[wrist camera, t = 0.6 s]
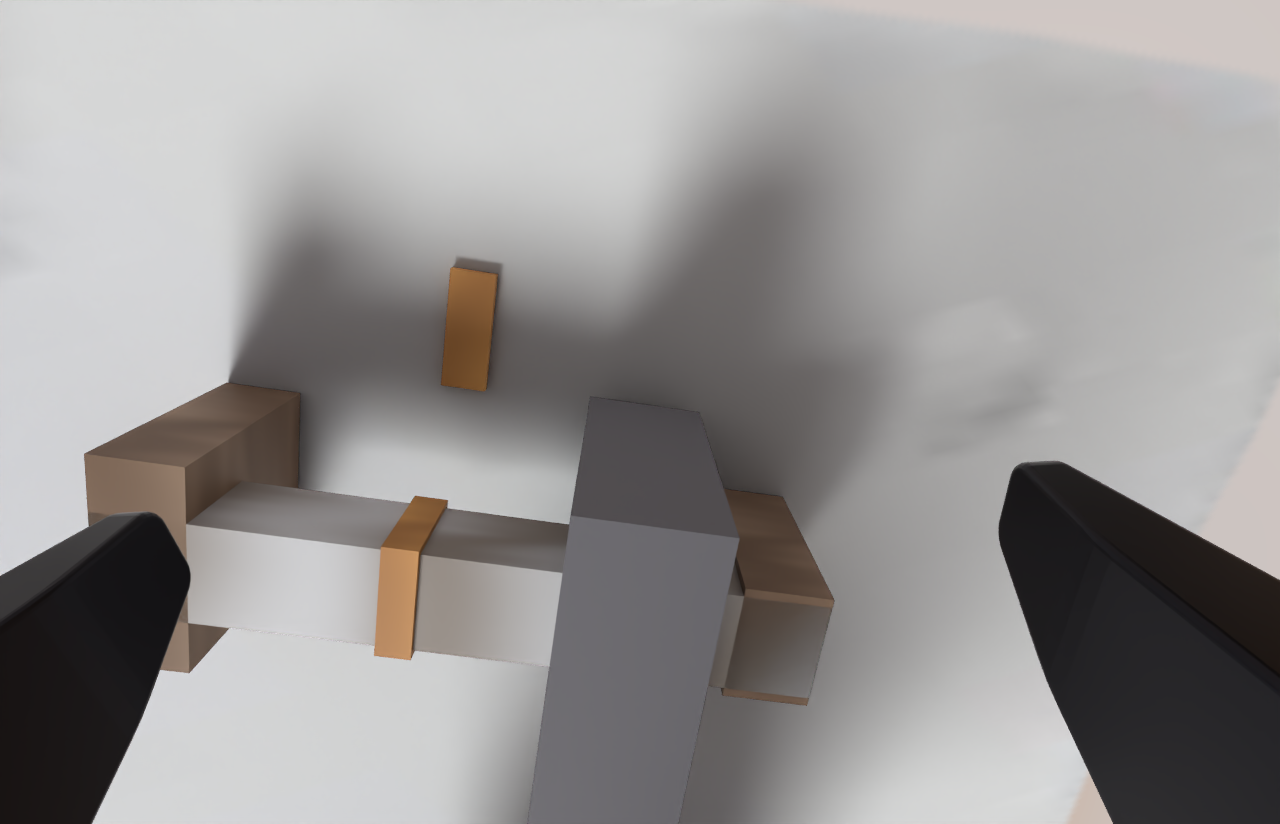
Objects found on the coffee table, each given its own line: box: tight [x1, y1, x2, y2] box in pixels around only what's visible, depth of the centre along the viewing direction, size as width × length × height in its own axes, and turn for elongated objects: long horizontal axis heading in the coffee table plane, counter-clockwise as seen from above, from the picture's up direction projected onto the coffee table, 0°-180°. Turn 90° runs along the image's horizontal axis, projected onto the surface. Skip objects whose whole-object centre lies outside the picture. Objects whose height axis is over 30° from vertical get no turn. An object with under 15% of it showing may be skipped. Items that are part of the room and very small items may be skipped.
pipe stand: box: [84, 267, 834, 706], centre depth 19 cm, size 16×9×6 cm, turn 81°
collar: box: [527, 397, 740, 824], centre depth 18 cm, size 3×8×8 cm, turn 171°
